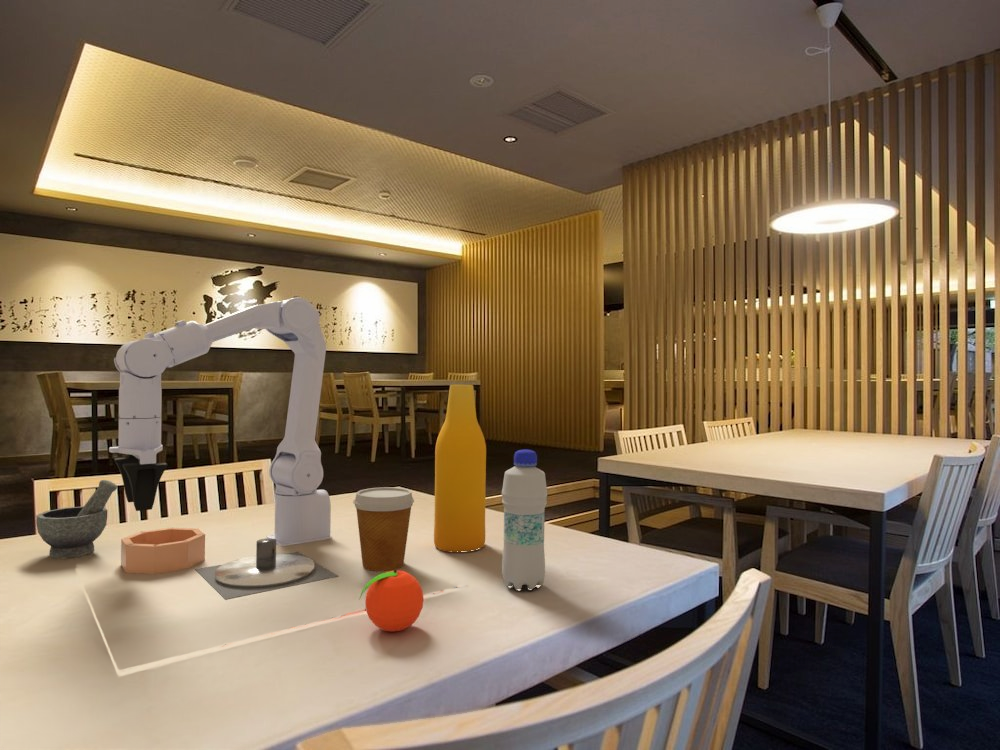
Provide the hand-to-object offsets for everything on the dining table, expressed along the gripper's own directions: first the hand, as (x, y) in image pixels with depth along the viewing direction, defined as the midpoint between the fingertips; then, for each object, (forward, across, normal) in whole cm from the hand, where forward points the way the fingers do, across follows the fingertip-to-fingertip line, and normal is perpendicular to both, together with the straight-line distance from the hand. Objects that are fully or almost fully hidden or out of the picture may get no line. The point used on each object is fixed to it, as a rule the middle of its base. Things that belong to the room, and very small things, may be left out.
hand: (139, 505), depth 96 cm
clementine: (+10, +44, +20) cm, 49 cm away
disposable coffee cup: (+10, +21, +31) cm, 39 cm away
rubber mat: (+10, +14, +15) cm, 23 cm away
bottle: (+10, +41, +43) cm, 60 cm away
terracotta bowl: (+10, 0, +4) cm, 11 cm away
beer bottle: (+10, +18, +48) cm, 52 cm away
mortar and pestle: (+10, -16, -7) cm, 20 cm away
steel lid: (+10, +14, +15) cm, 23 cm away
